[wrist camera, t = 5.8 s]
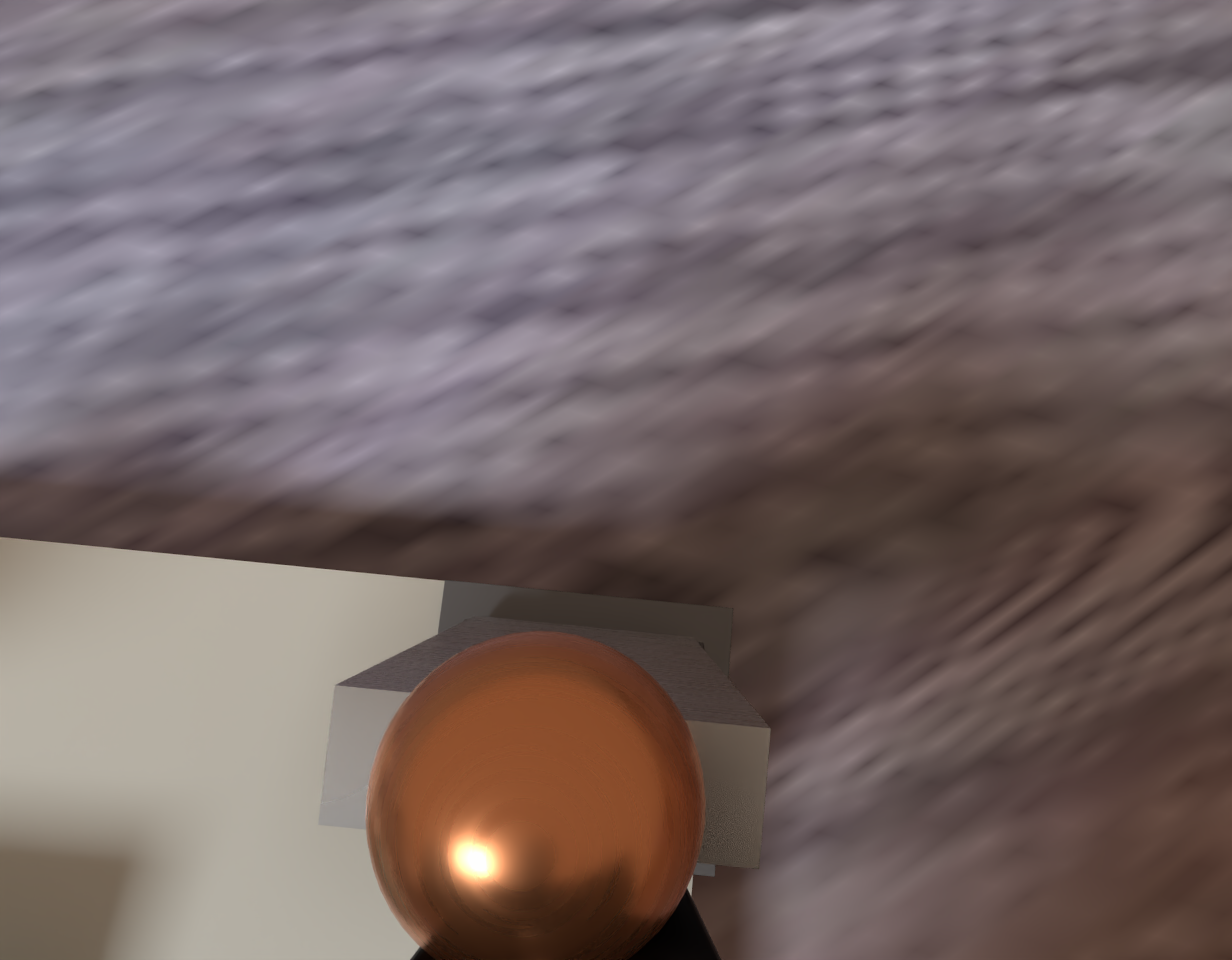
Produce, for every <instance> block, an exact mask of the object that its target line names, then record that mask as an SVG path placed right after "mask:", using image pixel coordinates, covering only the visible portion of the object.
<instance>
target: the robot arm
mask: <svg viewBox="0 0 1232 960" xmlns="http://www.w3.org/2000/svg"><path fill="white" fill-rule="evenodd" d="M410 960H435V959H434V958H433V957H431V956H430V955H429V954H428V953H427V952H426V951H424V950H423V949H422V948H421V947H419V948H418V950H417V951H416V952H415V954H414V955H413V956H412V958H411V959H410ZM627 960H721V958H720V956H719V954H718V952H717V950H716V948H715V946H714V944H713V941H712V939H711V937H710V935H709V933H708V931H707V929H706V927H705V925H704V922H703V920H702V918H701V916H700V914H699V912H698V910H697V908H696V905H695V903H694V901H693V899H692V897H691V895H690V893H689V891H688V888H687V889H686V891H685V894H684V896H683V897H682V899H681V901H680V902H679V904H678V906H677V907H676V909H675V911H674V912H673V914H672V915H671V917H670V918H669V919H668V920H667V922H666V923H665V924H664V925H663V927H662V928H661V929H660V930H659V932H658V933H657V934H656V935H655V936H654V937H653V938H652V939H651V940H650V941H649V942H647V943H646V944H645V945H644V946H643V947H642V948H641V949H640V950H639V951H638V952H637V953H635V954H634V955H633V956H631V957H630V958H629V959H627Z"/></svg>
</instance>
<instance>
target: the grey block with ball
mask: <svg viewBox="0 0 1232 960" xmlns="http://www.w3.org/2000/svg"><path fill="white" fill-rule="evenodd" d="M770 733H771V728H770V727H769V726H768V725H767V723H766V722H765V721H764V720H763V719H762V718H761V716H760V715H759V714H758V713H757V712H756V711H755V709H754V708H753V707H752V706H751V705H750V704H749V702H748V701H747V700H746V699H745V698H744V696H743V695H742V694H741V693H740V692H739V691H738V689H737V688H736V687H735V686H734V685H733V684H732V682H731V681H730V680H729V679H728V678H727V677H726V675H725V674H724V673H723V672H722V671H721V670H720V668H719V667H718V666H717V665H716V664H715V662H714V661H713V660H712V659H711V658H710V657H709V655H708V654H707V653H706V652H705V651H704V643H703V642H697V641H696V640H695V639H694V638H693V637H685V636H675V635H665V634H655V633H645V632H635V631H624V630H614V629H604V628H594V627H584V626H574V625H564V624H554V623H543V622H533V621H523V620H513V619H503V618H493V617H483V616H473V617H471V618H469V619H465V620H464V621H463V622H461V623H459V624H457V625H455V626H453V627H451V628H449V629H447V630H445V631H443V632H441V633H439V634H437V635H435V636H433V637H431V638H429V639H427V640H425V641H423V642H421V643H419V644H417V645H415V646H413V647H411V648H409V649H407V650H405V651H403V652H401V653H399V654H397V655H395V656H393V657H391V658H389V659H387V660H385V661H383V662H381V663H379V664H377V665H374V666H372V667H370V668H368V669H366V670H364V671H362V672H360V673H358V674H356V675H354V676H352V677H350V678H348V679H346V680H344V681H342V682H340V683H338V684H336V685H335V687H334V695H333V703H332V712H331V720H330V729H329V737H328V745H327V754H326V762H325V771H324V779H323V787H322V796H321V804H320V813H319V821H318V825H325V826H335V827H345V828H355V829H364V830H366V835H367V844H368V848H369V853H370V858H371V863H372V867H373V871H374V873H375V876H376V879H377V882H378V885H379V888H380V890H381V892H382V894H383V896H384V898H385V900H386V902H387V904H388V906H389V908H390V910H391V912H392V913H393V915H394V916H395V917H396V919H397V920H398V922H399V923H400V925H401V926H402V928H403V929H404V930H405V931H406V932H407V933H408V935H409V936H410V937H411V938H412V939H413V940H414V941H415V942H416V944H417V945H419V946H420V947H421V948H422V949H423V950H424V951H426V952H427V953H428V954H429V955H430V956H431V957H433V958H434V959H435V960H627V959H629V958H630V957H631V956H633V955H634V954H635V953H637V952H638V951H639V950H640V949H641V948H642V947H643V946H644V945H645V944H646V943H647V942H649V941H650V940H651V939H652V938H653V937H654V936H655V935H656V934H657V933H658V932H659V930H660V929H661V928H662V927H663V925H664V924H665V923H666V922H667V920H668V919H669V918H670V917H671V915H672V914H673V912H674V911H675V909H676V907H677V906H678V904H679V902H680V901H681V899H682V897H683V896H684V894H685V891H686V889H687V887H688V884H689V882H690V880H691V878H692V875H693V873H694V870H695V867H696V863H703V864H713V865H723V866H733V867H743V868H753V869H759V864H760V852H761V840H762V828H763V816H764V804H765V792H766V780H767V768H768V756H769V744H770Z"/></svg>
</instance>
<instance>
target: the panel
mask: <svg viewBox="0 0 1232 960" xmlns="http://www.w3.org/2000/svg"><path fill="white" fill-rule="evenodd" d="M473 616H483V617H493V618H503V619H513V620H523V621H533V622H543V623H554V624H564V625H574V626H584V627H594V628H604V629H614V630H624V631H635V632H645V633H655V634H665V635H675V636H685V637H693V638H694V639H695V640H696V641H697V642H703V643H704V651H705V652H706V653H707V654H708V655H709V657H710V658H711V659H712V660H713V661H714V662H715V664H716V665H717V666H718V667H719V668H720V670H721V671H722V672H723V673H724V674H725V675H726V677H727V678H728V676H729V662H730V647H731V633H732V619H733V608H725V607H715V606H705V605H695V604H684V603H674V602H664V601H654V600H644V599H634V598H623V597H613V596H603V595H593V594H583V593H573V592H563V591H552V590H542V589H532V588H522V587H512V586H502V585H491V584H481V583H471V582H461V581H451V580H445V581H441V580H431V579H421V578H411V577H400V576H390V575H380V574H370V573H360V572H350V571H340V570H329V569H319V568H309V567H299V566H289V565H279V564H268V563H258V562H248V561H238V560H228V559H218V558H208V557H197V556H187V555H177V554H167V553H157V552H147V551H136V550H126V549H116V548H106V547H96V546H86V545H76V544H65V543H55V542H45V541H35V540H25V539H15V538H5V537H0V960H410V959H411V958H412V956H413V955H414V954H415V952H416V951H417V950H418V948H419V947H420V946H419V945H417V944H416V942H415V941H414V940H413V939H412V938H411V937H410V936H409V935H408V933H407V932H406V931H405V930H404V929H403V928H402V926H401V925H400V923H399V922H398V920H397V919H396V917H395V916H394V915H393V913H392V912H391V910H390V908H389V906H388V904H387V902H386V900H385V898H384V896H383V894H382V892H381V890H380V888H379V885H378V882H377V879H376V876H375V873H374V871H373V867H372V863H371V858H370V853H369V848H368V844H367V835H366V830H364V829H355V828H345V827H335V826H325V825H318V821H319V813H320V804H321V796H322V787H323V779H324V771H325V762H326V754H327V745H328V737H329V729H330V720H331V712H332V703H333V695H334V687H335V685H336V684H338V683H340V682H342V681H344V680H346V679H348V678H350V677H352V676H354V675H356V674H358V673H360V672H362V671H364V670H366V669H368V668H370V667H372V666H374V665H377V664H379V663H381V662H383V661H385V660H387V659H389V658H391V657H393V656H395V655H397V654H399V653H401V652H403V651H405V650H407V649H409V648H411V647H413V646H415V645H417V644H419V643H421V642H423V641H425V640H427V639H429V638H431V637H433V636H435V635H437V634H439V633H441V632H443V631H445V630H447V629H449V628H451V627H453V626H455V625H457V624H459V623H461V622H463V621H464V620H465V619H469V618H471V617H473ZM693 874H694V875H704V876H713V877H715V865H713V864H703V863H696V867H695V870H694V873H693ZM692 881H693V875H692V878H691V880H690V882H689V884H688V887H687V888H688V891H689V893H690V895H692Z"/></svg>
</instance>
